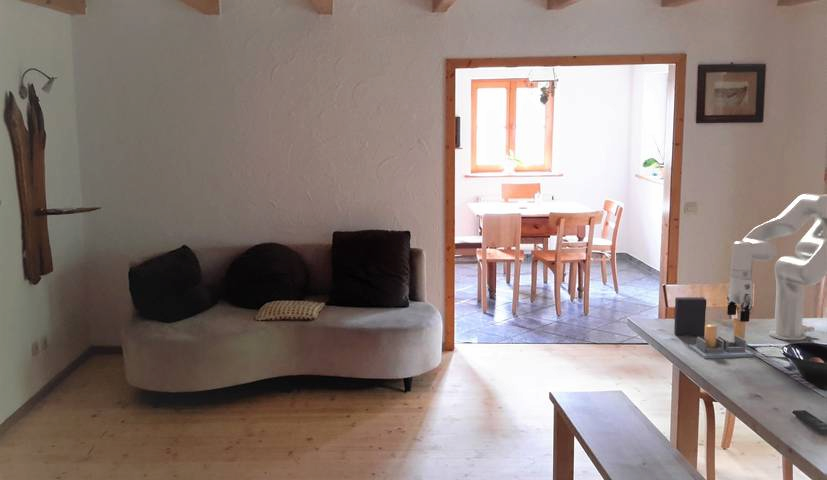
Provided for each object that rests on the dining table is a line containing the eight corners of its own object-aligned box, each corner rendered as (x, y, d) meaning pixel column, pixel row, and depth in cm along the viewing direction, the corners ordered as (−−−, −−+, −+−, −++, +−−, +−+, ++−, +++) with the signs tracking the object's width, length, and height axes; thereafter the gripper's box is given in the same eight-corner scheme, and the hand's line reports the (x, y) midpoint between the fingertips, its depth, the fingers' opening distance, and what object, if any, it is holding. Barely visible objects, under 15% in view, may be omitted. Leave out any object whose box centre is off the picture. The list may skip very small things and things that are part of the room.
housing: (735, 345, 263) (736, 319, 262) (753, 356, 251) (755, 329, 249) (688, 347, 263) (689, 321, 261) (704, 358, 250) (705, 331, 248)
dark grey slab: (701, 333, 280) (703, 296, 278) (705, 336, 276) (706, 299, 273) (673, 333, 281) (674, 296, 279) (676, 336, 277) (677, 299, 274)
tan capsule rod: (741, 340, 269) (742, 317, 268) (746, 343, 265) (747, 320, 264) (731, 341, 269) (732, 318, 268) (736, 344, 265) (737, 321, 264)
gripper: (763, 278, 254) (759, 324, 257) (739, 269, 271) (736, 312, 274) (743, 278, 254) (739, 324, 257) (720, 269, 271) (717, 312, 274)
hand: (737, 318), depth 265 cm, fingers open, 9 cm apart
